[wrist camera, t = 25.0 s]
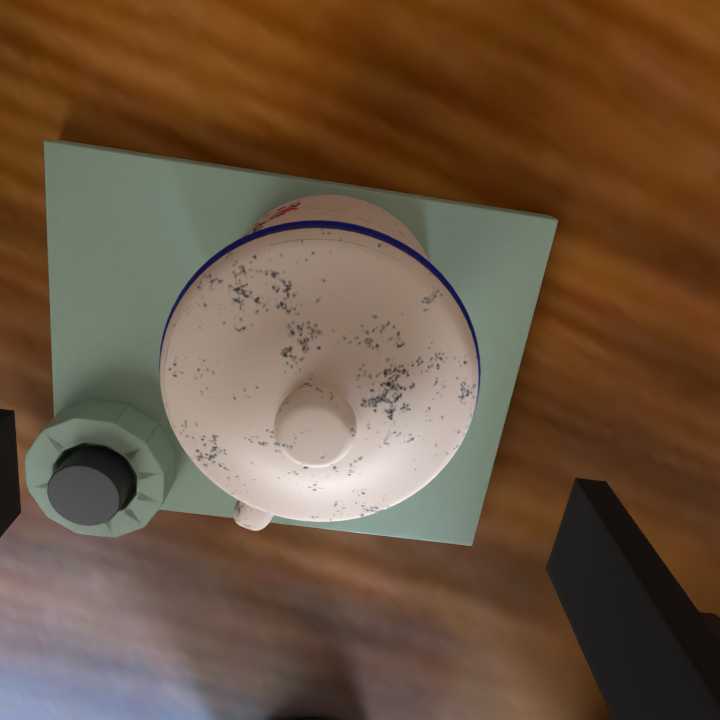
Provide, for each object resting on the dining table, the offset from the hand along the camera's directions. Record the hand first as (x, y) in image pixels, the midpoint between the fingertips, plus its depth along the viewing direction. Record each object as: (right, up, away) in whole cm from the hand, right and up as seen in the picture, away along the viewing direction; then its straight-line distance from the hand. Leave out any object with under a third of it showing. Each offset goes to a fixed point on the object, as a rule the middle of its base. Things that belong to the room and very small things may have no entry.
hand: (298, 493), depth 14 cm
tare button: (-10, -2, +12) cm, 16 cm away
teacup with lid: (0, +4, +11) cm, 12 cm away
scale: (-2, +3, +13) cm, 14 cm away
